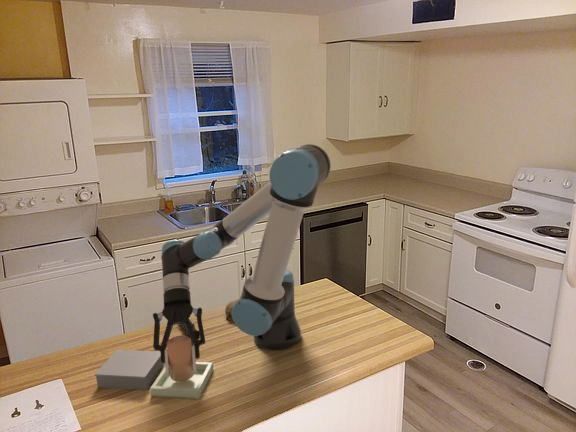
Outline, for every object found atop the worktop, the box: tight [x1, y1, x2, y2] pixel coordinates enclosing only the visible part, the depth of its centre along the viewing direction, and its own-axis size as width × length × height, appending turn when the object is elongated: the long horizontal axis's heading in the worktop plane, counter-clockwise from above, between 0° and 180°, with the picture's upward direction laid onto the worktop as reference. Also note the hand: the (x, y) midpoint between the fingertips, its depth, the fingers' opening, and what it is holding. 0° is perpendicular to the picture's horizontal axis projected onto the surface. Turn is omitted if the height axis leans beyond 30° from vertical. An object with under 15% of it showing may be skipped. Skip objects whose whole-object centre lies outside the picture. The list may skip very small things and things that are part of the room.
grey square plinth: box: [94, 349, 165, 391], centre depth 130 cm, size 14×12×4 cm
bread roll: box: [224, 298, 240, 322], centre depth 163 cm, size 10×10×8 cm
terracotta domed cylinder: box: [166, 335, 194, 382], centre depth 124 cm, size 6×6×10 cm
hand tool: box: [179, 318, 200, 343], centre depth 155 cm, size 19×4×5 cm, turn 24°
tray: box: [149, 361, 214, 400], centre depth 126 cm, size 13×13×2 cm
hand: (181, 373), depth 122 cm, fingers closed on terracotta domed cylinder, 6 cm apart
